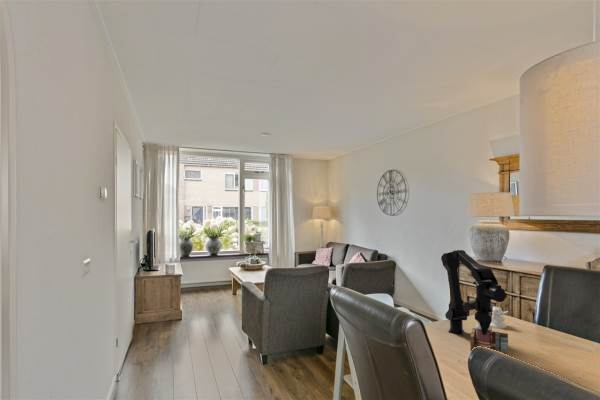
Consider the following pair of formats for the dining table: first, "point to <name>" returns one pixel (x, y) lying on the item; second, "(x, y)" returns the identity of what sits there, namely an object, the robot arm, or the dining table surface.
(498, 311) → the figurine
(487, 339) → the pill bottle
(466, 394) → the dining table surface
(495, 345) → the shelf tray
